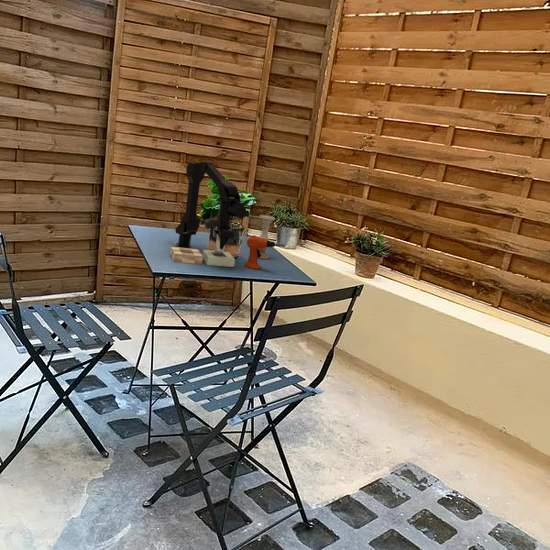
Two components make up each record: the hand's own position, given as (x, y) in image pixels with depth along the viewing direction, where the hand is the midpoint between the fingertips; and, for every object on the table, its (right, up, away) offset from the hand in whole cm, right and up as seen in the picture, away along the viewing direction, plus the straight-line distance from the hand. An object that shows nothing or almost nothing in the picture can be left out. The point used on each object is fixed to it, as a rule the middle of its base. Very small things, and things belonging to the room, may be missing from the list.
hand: (219, 247), depth 242 cm
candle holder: (+17, -3, +26) cm, 31 cm away
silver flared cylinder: (-1, -5, +1) cm, 5 cm away
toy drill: (+18, -10, +2) cm, 21 cm away
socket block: (-15, -5, -3) cm, 16 cm away
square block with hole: (-1, -6, +2) cm, 7 cm away
